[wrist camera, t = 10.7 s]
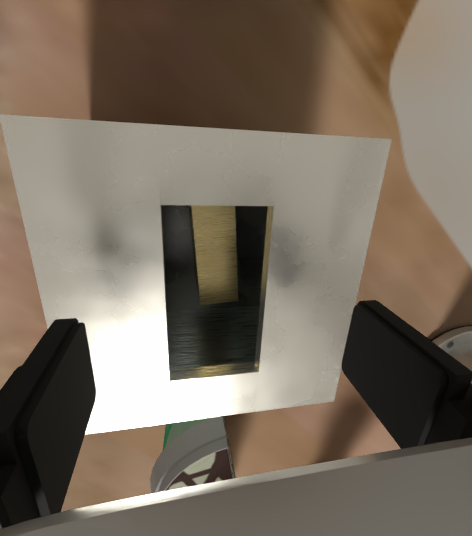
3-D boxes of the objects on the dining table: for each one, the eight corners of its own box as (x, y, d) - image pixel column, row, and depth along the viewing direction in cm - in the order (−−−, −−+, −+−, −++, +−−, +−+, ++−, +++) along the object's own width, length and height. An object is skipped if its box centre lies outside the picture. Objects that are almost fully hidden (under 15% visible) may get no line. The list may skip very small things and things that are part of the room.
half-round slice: (142, 359, 26) (124, 469, 17) (209, 343, 27) (226, 441, 18) (171, 449, 31) (170, 572, 22) (227, 434, 32) (248, 547, 23)
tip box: (291, 144, 22) (391, 139, 12) (274, 307, 27) (333, 401, 17) (90, 133, 19) (-1, 114, 9) (114, 317, 24) (72, 436, 14)
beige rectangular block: (234, 192, 17) (238, 300, 19) (221, 183, 21) (226, 271, 24) (190, 195, 16) (200, 305, 19) (186, 185, 21) (195, 275, 23)
